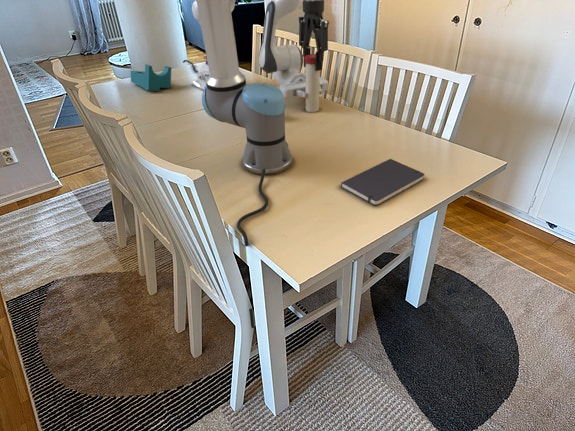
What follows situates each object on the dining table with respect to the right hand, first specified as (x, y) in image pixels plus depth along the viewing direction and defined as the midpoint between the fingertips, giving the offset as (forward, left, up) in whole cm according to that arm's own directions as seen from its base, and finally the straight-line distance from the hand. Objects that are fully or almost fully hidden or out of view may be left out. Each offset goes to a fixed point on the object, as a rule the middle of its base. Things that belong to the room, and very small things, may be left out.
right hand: (312, 68), depth 152 cm
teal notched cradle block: (+48, +66, -16) cm, 83 cm away
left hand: (-1, 0, -9) cm, 10 cm away
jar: (0, 0, -16) cm, 16 cm away
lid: (0, 0, +4) cm, 4 cm away
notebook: (-60, -6, -16) cm, 62 cm away
